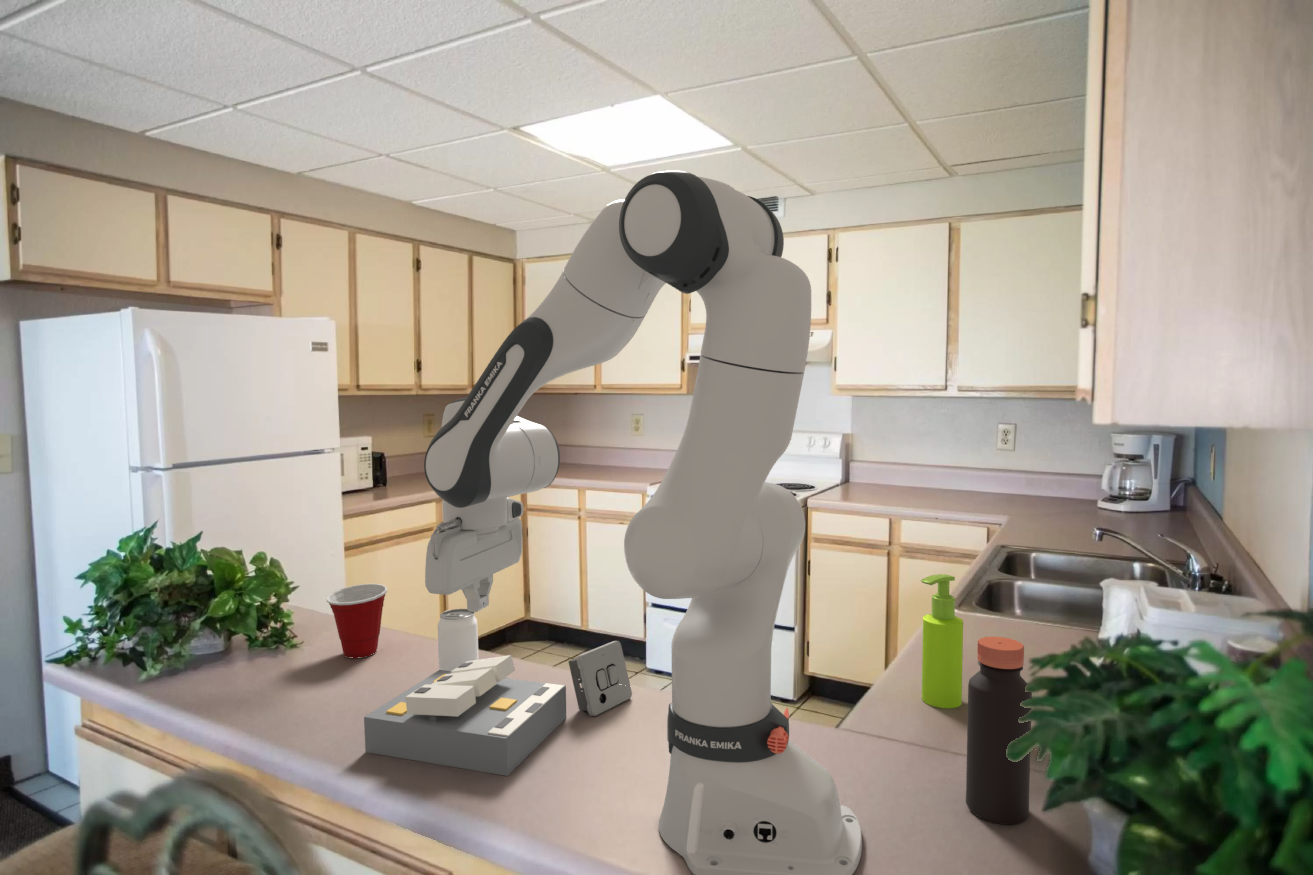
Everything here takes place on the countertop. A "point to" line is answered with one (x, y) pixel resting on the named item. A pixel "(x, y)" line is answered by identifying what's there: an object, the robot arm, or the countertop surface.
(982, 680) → the bottle
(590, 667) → the electrical switch
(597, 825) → the countertop surface
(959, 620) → the soap dispenser
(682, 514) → the robot arm
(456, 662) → the can
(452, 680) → the rocker
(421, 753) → the switch unit
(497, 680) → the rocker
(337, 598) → the plastic cup
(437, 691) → the rocker
